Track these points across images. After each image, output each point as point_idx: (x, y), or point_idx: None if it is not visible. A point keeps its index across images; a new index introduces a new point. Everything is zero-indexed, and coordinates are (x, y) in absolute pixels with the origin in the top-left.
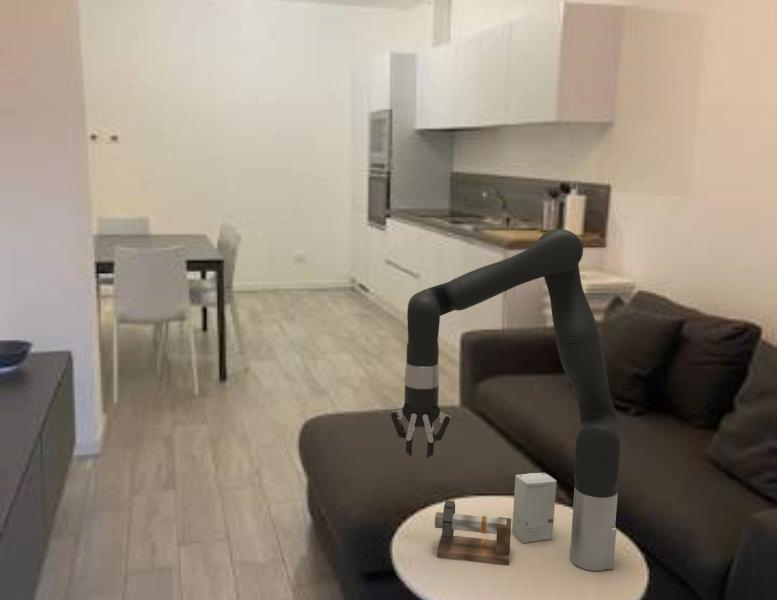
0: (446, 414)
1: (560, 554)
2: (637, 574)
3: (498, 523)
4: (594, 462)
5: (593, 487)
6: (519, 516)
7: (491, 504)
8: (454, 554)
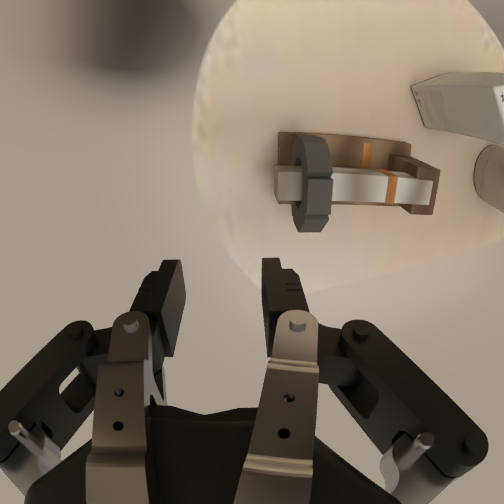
0: (450, 482)
1: (466, 157)
2: None
3: (415, 203)
4: None
5: None
6: (446, 115)
7: None
8: None
